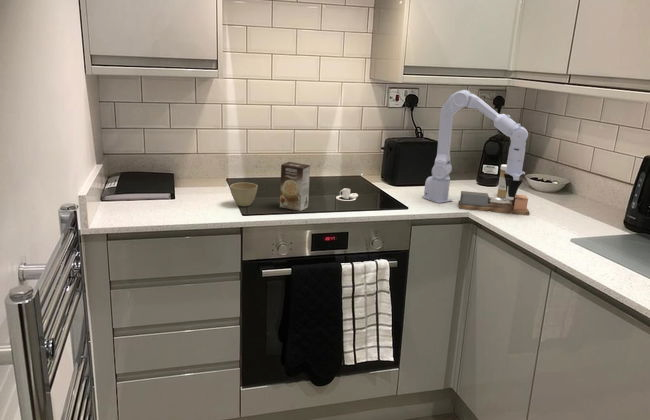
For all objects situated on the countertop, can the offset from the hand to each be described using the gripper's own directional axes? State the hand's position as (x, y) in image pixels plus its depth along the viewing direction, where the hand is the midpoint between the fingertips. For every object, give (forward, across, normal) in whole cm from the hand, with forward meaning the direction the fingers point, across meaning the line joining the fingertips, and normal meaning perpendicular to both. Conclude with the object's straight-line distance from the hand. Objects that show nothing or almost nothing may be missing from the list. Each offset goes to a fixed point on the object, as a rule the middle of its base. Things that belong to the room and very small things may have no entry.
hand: (510, 194), depth 204 cm
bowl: (+6, -26, +98) cm, 101 cm away
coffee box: (+6, -23, +79) cm, 83 cm away
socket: (+5, 0, -4) cm, 6 cm away
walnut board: (+6, 0, +6) cm, 8 cm away
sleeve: (+5, 0, +13) cm, 14 cm away
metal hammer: (+4, 0, +3) cm, 5 cm away
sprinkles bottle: (+6, +22, -1) cm, 23 cm away
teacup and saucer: (+7, -5, +60) cm, 60 cm away
